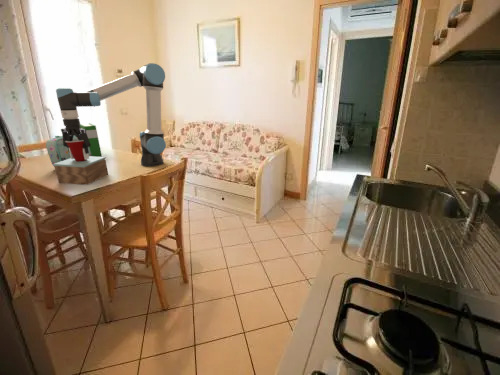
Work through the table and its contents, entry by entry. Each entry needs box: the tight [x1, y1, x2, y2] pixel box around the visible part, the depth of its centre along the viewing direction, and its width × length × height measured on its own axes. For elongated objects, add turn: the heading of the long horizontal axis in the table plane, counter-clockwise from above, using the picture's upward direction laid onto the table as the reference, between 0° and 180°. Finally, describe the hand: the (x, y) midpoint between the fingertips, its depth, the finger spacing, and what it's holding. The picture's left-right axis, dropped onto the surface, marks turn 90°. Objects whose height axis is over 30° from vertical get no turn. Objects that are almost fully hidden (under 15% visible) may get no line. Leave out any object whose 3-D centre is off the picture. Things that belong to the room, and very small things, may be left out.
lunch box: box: [45, 135, 91, 166], centre depth 177 cm, size 27×10×21 cm, turn 168°
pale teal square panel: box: [52, 156, 107, 167], centre depth 150 cm, size 19×18×1 cm
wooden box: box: [53, 159, 109, 186], centre depth 152 cm, size 18×18×10 cm
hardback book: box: [80, 122, 103, 157], centre depth 204 cm, size 18×7×24 cm, turn 43°
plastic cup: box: [65, 139, 87, 161], centre depth 147 cm, size 11×11×12 cm
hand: (80, 158), depth 149 cm, fingers closed on plastic cup, 8 cm apart
